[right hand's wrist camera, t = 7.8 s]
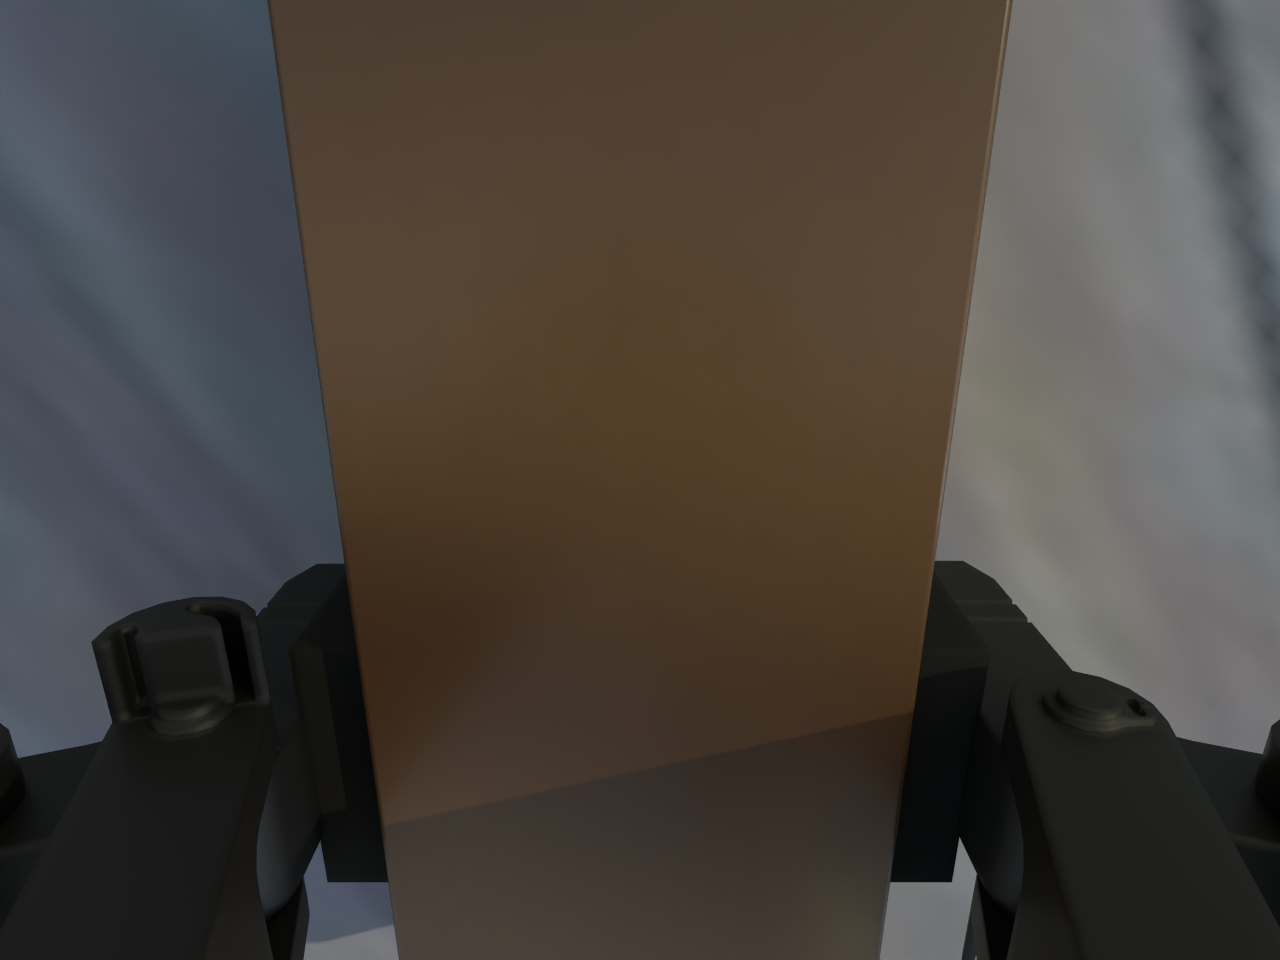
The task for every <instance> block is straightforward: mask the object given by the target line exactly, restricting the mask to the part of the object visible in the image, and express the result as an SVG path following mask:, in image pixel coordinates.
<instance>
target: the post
mask: <svg viewBox="0 0 1280 960" xmlns="http://www.w3.org/2000/svg"><path fill="white" fill-rule="evenodd" d="M267 1H268V8H269V15H270V23H271V30H272V37H273V44H274V52H275V59H276V66H277V74H278V81H279V88H280V95H281V103H282V110H283V117H284V125H285V132H286V139H287V147H288V154H289V161H290V168H291V176H292V183H293V190H294V198H295V205H296V212H297V219H298V227H299V234H300V241H301V249H302V256H303V263H304V270H305V278H306V285H307V292H308V300H309V307H310V314H311V321H312V329H313V336H314V343H315V351H316V358H317V365H318V372H319V380H320V387H321V394H322V402H323V409H324V416H325V424H326V431H327V438H328V445H329V453H330V460H331V467H332V475H333V482H334V489H335V496H336V504H337V511H338V518H339V526H340V533H341V540H342V547H343V555H344V562H345V569H346V577H347V584H348V591H349V598H350V606H351V613H352V620H353V628H354V635H355V642H356V650H357V657H358V664H359V671H360V679H361V686H362V693H363V701H364V708H365V715H366V722H367V730H368V737H369V744H370V752H371V759H372V766H373V773H374V781H375V788H376V795H377V803H378V810H379V817H380V824H381V832H382V839H383V846H384V854H385V861H386V868H387V876H388V883H389V890H390V897H391V905H392V912H393V919H394V927H395V934H396V941H397V948H398V956H399V960H879V958H880V951H881V944H882V937H883V930H884V922H885V915H886V908H887V901H888V894H889V886H890V879H891V872H892V865H893V858H894V850H895V843H896V836H897V829H898V822H899V814H900V807H901V800H902V793H903V786H904V778H905V771H906V764H907V757H908V750H909V743H910V735H911V728H912V721H913V714H914V707H915V699H916V692H917V685H918V678H919V671H920V663H921V656H922V649H923V642H924V635H925V627H926V620H927V613H928V606H929V599H930V591H931V584H932V577H933V570H934V563H935V555H936V548H937V541H938V534H939V527H940V519H941V512H942V505H943V498H944V491H945V483H946V476H947V469H948V462H949V455H950V447H951V440H952V433H953V426H954V419H955V411H956V404H957V397H958V390H959V383H960V376H961V368H962V361H963V354H964V347H965V340H966V332H967V325H968V318H969V311H970V304H971V296H972V289H973V282H974V275H975V268H976V260H977V253H978V246H979V239H980V232H981V224H982V217H983V210H984V203H985V196H986V188H987V181H988V174H989V167H990V160H991V152H992V145H993V138H994V131H995V124H996V116H997V109H998V102H999V95H1000V88H1001V80H1002V73H1003V66H1004V59H1005V52H1006V44H1007V37H1008V30H1009V23H1010V16H1011V8H1012V1H1013V0H267Z"/></svg>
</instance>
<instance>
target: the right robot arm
mask: <svg viewBox="0 0 1280 960" xmlns="http://www.w3.org/2000/svg"><path fill="white" fill-rule="evenodd" d="M92 646H93V650H94V654H95V658H96V661H97V665H98V669H99V673H100V677H101V680H102V684H103V688H104V692H105V695H106V699H107V703H108V707H109V711H110V714H111V718H112V724H111V726H110V728H109V730H108V732H107V733H106V735H105V737H104V739H103V741H101V742H97V743H93V744H89V745H84V746H79V747H74V748H69V749H64V750H58V751H53V752H48V753H43V754H38V755H32V756H27V757H22V758H18V757H17V754H16V751H15V748H14V745H13V741H12V738H11V735H10V732H9V730H8V729H7V728H6V727H4V726H3V725H2V724H1V723H0V960H303V958H304V951H305V944H306V937H307V930H308V922H309V907H308V899H307V893H306V887H305V882H304V874H305V872H306V870H307V867H308V865H309V863H310V861H311V859H312V857H313V855H314V853H315V850H316V848H317V846H318V844H319V842H320V840H321V845H322V851H323V857H324V863H325V869H326V875H327V881H328V882H388V876H387V868H386V861H385V854H384V846H383V839H382V832H381V824H380V817H379V810H378V803H377V795H376V788H375V781H374V773H373V766H372V759H371V752H370V744H369V737H368V730H367V722H366V715H365V708H364V701H363V693H362V686H361V679H360V671H359V664H358V657H357V650H356V642H355V635H354V628H353V620H352V613H351V606H350V598H349V591H348V584H347V577H346V569H345V564H316V565H314V566H312V567H311V568H309V569H307V570H306V571H304V572H302V573H300V574H299V575H297V576H295V577H294V578H292V579H290V580H289V581H287V582H285V584H284V585H283V586H282V587H281V588H280V590H279V591H278V592H277V593H276V594H275V595H274V597H273V598H272V599H271V600H270V601H269V603H268V608H263V610H262V611H261V612H260V613H259V614H258V616H257V617H256V613H255V610H254V609H253V608H251V607H250V606H249V605H247V604H246V603H245V602H243V601H240V600H235V599H230V598H225V597H192V598H187V599H182V600H176V601H171V602H165V603H161V604H158V605H155V606H152V607H149V608H147V609H144V610H141V611H138V612H135V613H132V614H130V615H128V616H127V617H125V618H123V619H121V620H119V621H117V622H116V623H114V624H112V625H110V626H108V627H107V628H106V629H105V630H104V631H103V632H102V633H101V634H100V635H98V636H97V637H96V638H95V639H94V640H93V641H92ZM959 837H960V839H961V841H962V843H963V845H964V847H965V849H966V851H967V853H968V856H969V858H970V860H971V862H972V864H973V866H974V868H975V870H976V872H977V876H976V882H975V887H974V893H973V898H972V904H971V909H970V915H969V920H968V926H967V931H966V937H965V942H964V948H963V953H962V960H975V956H977V960H1280V720H1278V721H1277V722H1276V723H1275V724H1273V725H1272V726H1271V730H1270V733H1269V736H1268V739H1267V742H1266V745H1265V749H1264V752H1263V754H1258V753H1253V752H1248V751H1242V750H1237V749H1232V748H1227V747H1221V746H1216V745H1211V744H1206V743H1200V742H1195V741H1191V740H1187V739H1183V738H1179V737H1176V736H1175V734H1174V732H1173V730H1172V728H1171V726H1170V725H1169V723H1168V721H1167V720H1166V719H1165V718H1164V716H1163V715H1162V714H1161V713H1160V712H1159V711H1158V709H1157V708H1156V707H1155V706H1154V705H1153V704H1152V703H1150V702H1149V701H1147V700H1146V699H1144V698H1143V697H1141V696H1140V695H1138V694H1137V693H1135V692H1133V691H1132V690H1130V689H1129V688H1126V687H1124V686H1121V685H1119V684H1116V683H1114V682H1111V681H1109V680H1106V679H1104V678H1101V677H1097V676H1093V675H1088V674H1084V673H1079V672H1074V671H1072V670H1071V669H1070V667H1069V666H1068V665H1067V664H1066V663H1065V661H1064V660H1063V659H1062V658H1061V657H1060V656H1059V654H1058V653H1057V652H1056V651H1055V650H1054V649H1053V647H1052V646H1051V645H1050V644H1049V643H1048V642H1047V640H1046V639H1045V638H1044V637H1043V636H1042V635H1041V633H1040V632H1039V631H1038V630H1037V629H1036V628H1035V626H1034V625H1033V624H1032V623H1028V622H1027V617H1026V616H1025V615H1024V613H1023V612H1022V611H1021V610H1020V609H1019V608H1018V606H1017V605H1013V604H1012V599H1011V598H1010V597H1009V596H1008V595H1007V594H1006V592H1005V591H1004V590H1003V589H1002V588H1001V587H1000V585H999V584H998V583H997V582H996V581H995V580H994V579H993V578H991V577H990V576H988V575H986V574H984V573H983V572H981V571H979V570H978V569H976V568H974V567H972V566H971V565H969V564H967V563H966V562H964V561H935V563H934V570H933V577H932V584H931V591H930V599H929V606H928V613H927V620H926V627H925V635H924V642H923V649H922V656H921V663H920V671H919V678H918V685H917V692H916V699H915V707H914V714H913V721H912V728H911V735H910V743H909V750H908V757H907V764H906V771H905V778H904V786H903V793H902V800H901V807H900V814H899V822H898V829H897V836H896V843H895V850H894V858H893V865H892V872H891V879H890V882H952V878H953V872H954V866H955V860H956V854H957V848H958V842H959Z"/></svg>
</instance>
